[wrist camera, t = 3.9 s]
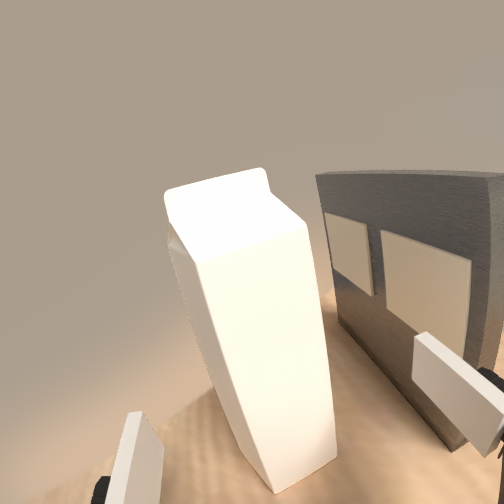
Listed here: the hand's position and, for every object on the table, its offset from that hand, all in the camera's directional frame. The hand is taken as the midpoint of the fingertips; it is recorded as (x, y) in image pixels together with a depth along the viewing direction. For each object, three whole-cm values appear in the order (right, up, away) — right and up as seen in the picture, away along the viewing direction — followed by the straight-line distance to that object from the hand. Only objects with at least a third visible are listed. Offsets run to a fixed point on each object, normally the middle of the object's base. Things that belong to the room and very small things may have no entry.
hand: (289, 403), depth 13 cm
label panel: (+16, -5, +16) cm, 23 cm away
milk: (+1, -10, +9) cm, 14 cm away
